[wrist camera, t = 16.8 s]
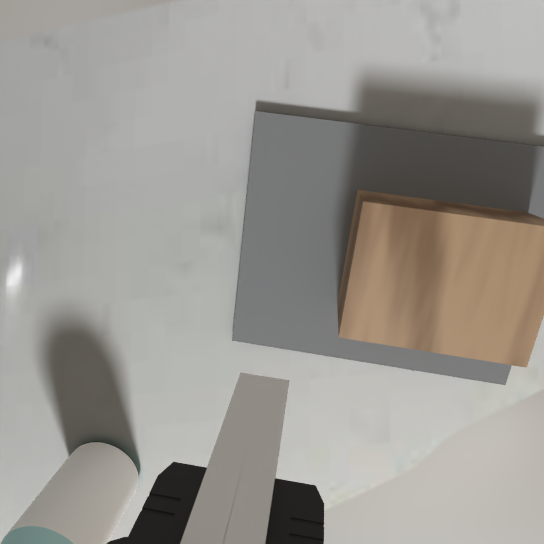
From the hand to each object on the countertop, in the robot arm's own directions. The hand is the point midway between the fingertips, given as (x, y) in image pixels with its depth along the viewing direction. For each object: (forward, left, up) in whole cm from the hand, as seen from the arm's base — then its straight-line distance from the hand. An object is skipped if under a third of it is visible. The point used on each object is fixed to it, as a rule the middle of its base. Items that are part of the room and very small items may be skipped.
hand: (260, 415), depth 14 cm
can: (-16, -25, -23) cm, 37 cm away
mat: (+6, 0, -22) cm, 23 cm away
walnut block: (+3, 0, -19) cm, 19 cm away
